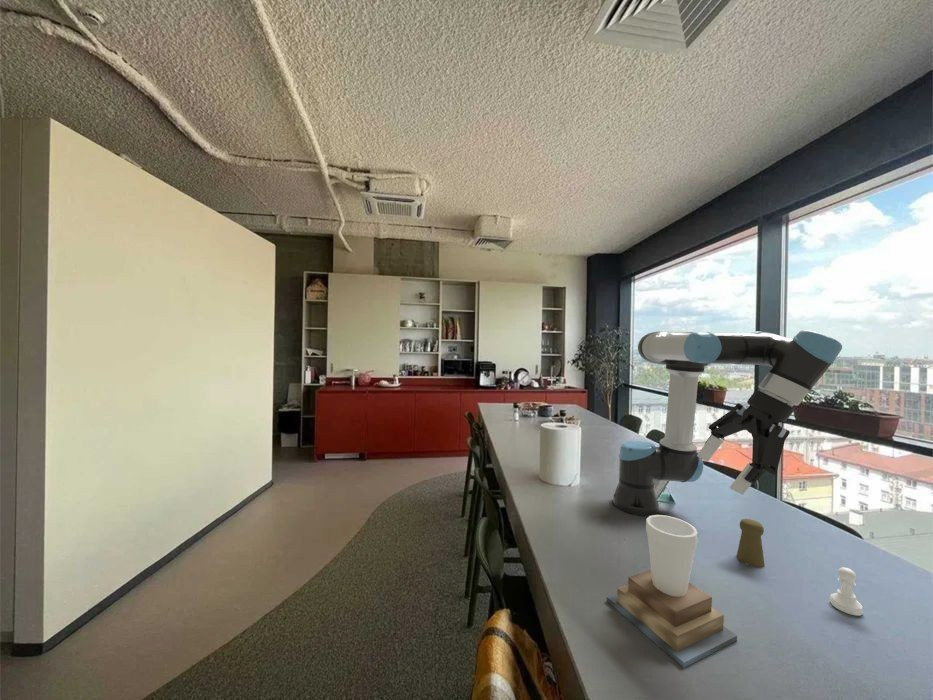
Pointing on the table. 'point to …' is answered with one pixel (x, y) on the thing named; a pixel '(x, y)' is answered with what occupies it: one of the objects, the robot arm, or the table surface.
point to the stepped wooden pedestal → (673, 619)
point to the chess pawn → (846, 594)
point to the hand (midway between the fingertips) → (717, 473)
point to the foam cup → (671, 553)
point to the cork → (751, 543)
